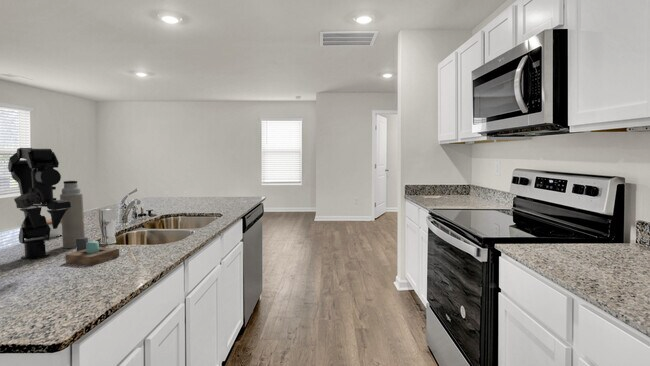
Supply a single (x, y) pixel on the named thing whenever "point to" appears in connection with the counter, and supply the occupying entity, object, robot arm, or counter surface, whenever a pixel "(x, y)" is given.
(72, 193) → the thermos bottle
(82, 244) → the black dowel
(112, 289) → the counter surface
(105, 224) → the beer glass
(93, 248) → the peg
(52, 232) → the lidded jar
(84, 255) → the socket block
